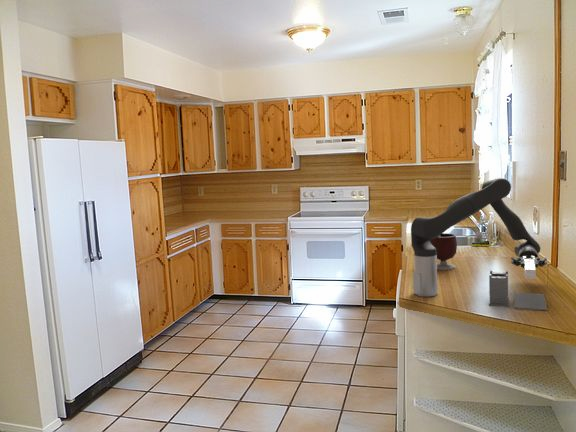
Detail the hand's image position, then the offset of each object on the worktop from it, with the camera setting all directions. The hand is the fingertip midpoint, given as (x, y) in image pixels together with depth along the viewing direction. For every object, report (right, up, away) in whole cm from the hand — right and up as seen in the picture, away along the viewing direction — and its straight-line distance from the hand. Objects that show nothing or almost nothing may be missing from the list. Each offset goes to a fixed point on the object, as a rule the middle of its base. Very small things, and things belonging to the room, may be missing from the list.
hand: (529, 265), depth 196 cm
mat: (-1, -14, -1) cm, 14 cm away
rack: (-12, -14, 0) cm, 19 cm away
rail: (-1, -2, -2) cm, 4 cm away
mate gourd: (-14, -8, +65) cm, 67 cm away
